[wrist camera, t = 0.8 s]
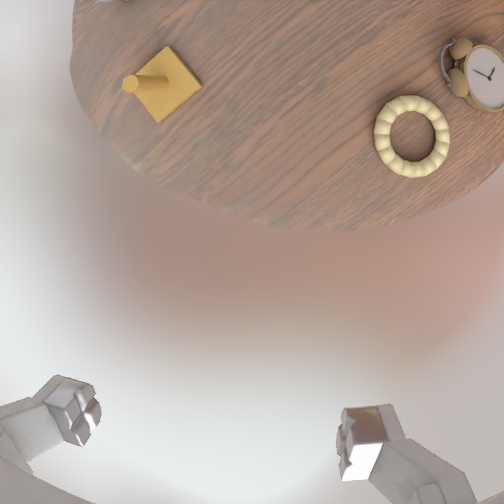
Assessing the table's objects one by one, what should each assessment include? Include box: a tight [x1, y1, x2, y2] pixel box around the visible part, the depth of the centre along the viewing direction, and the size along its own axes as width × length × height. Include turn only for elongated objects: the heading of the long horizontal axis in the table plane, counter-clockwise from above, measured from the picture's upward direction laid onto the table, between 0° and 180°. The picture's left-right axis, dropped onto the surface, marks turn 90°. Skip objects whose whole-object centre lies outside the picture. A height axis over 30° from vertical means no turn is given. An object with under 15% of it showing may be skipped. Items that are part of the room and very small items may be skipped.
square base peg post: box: [122, 46, 203, 122], centre depth 38 cm, size 9×9×12 cm
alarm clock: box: [438, 38, 504, 113], centre depth 32 cm, size 11×5×15 cm
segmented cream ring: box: [374, 95, 450, 178], centre depth 40 cm, size 13×13×2 cm
